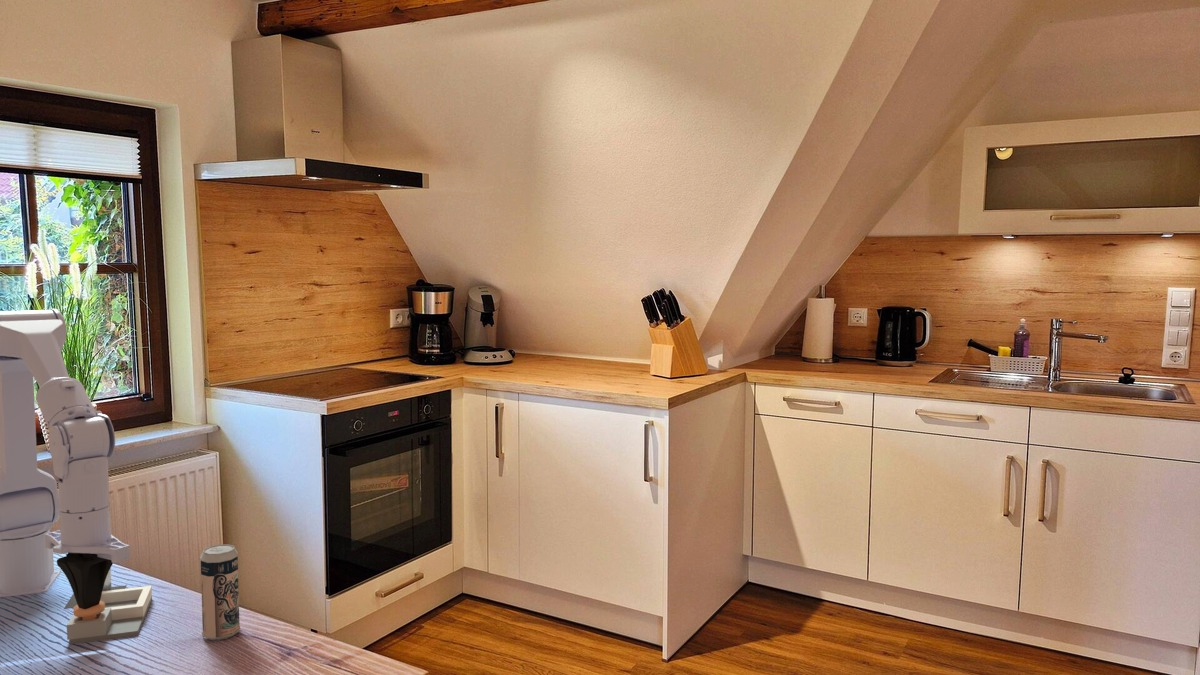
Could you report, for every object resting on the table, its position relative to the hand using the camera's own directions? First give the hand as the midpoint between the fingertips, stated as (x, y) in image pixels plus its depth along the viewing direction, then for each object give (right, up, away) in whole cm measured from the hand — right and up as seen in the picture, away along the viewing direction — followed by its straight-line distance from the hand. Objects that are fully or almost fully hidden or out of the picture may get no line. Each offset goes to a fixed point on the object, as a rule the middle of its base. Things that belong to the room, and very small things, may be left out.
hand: (89, 606), depth 113 cm
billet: (-7, -3, +13) cm, 16 cm away
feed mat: (-7, -3, +13) cm, 16 cm away
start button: (0, -3, 0) cm, 3 cm away
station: (0, -4, +5) cm, 6 cm away
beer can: (+17, -5, +2) cm, 18 cm away
